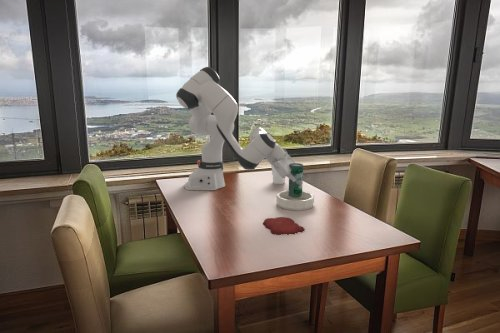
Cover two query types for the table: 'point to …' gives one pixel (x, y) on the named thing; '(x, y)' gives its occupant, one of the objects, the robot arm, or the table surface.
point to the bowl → (295, 201)
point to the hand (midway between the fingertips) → (296, 178)
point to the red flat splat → (282, 226)
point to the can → (296, 186)
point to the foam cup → (277, 177)
